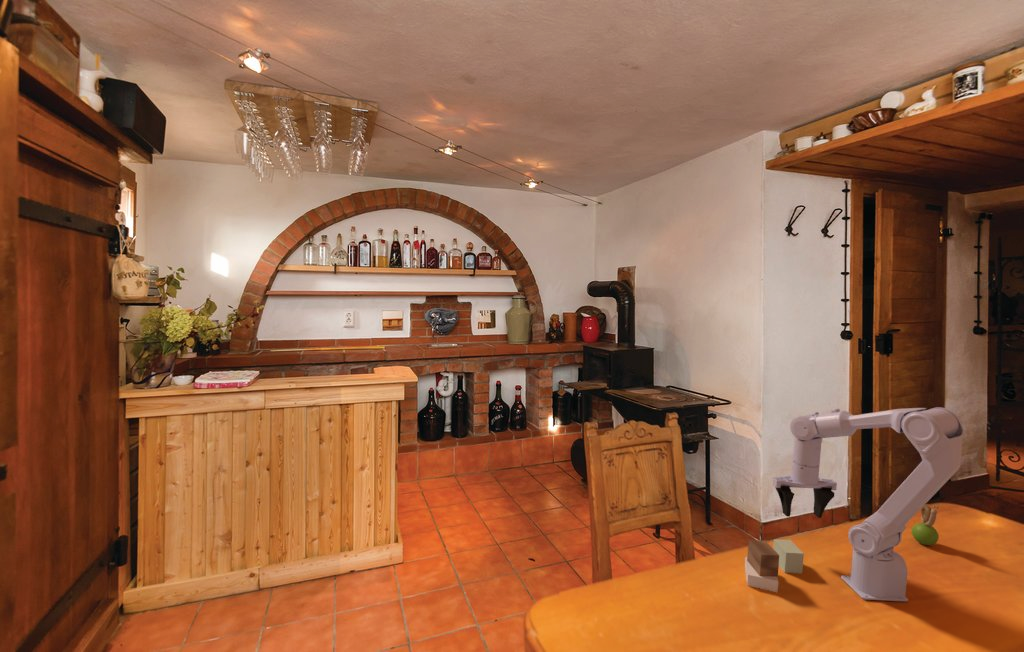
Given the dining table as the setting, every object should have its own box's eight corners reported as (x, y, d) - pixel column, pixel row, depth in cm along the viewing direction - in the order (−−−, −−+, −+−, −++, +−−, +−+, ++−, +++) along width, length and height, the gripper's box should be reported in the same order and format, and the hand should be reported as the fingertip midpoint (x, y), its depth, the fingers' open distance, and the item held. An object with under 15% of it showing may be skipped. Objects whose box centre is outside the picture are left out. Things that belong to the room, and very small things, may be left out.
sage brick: (788, 559, 119) (790, 540, 119) (802, 573, 113) (803, 553, 113) (772, 558, 120) (773, 539, 119) (784, 572, 114) (786, 552, 113)
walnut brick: (764, 560, 114) (765, 540, 113) (777, 576, 108) (779, 555, 107) (747, 560, 114) (748, 540, 113) (759, 576, 108) (761, 554, 107)
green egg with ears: (918, 549, 125) (923, 504, 124) (906, 536, 131) (911, 494, 130) (944, 553, 123) (949, 508, 122) (930, 540, 129) (935, 497, 128)
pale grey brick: (772, 574, 114) (773, 562, 113) (777, 594, 106) (778, 581, 106) (744, 568, 116) (745, 556, 115) (747, 587, 108) (748, 574, 108)
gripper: (826, 458, 124) (822, 509, 125) (768, 456, 124) (764, 506, 125) (843, 468, 116) (839, 522, 118) (782, 466, 117) (778, 520, 118)
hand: (801, 515), depth 121 cm, fingers open, 7 cm apart
